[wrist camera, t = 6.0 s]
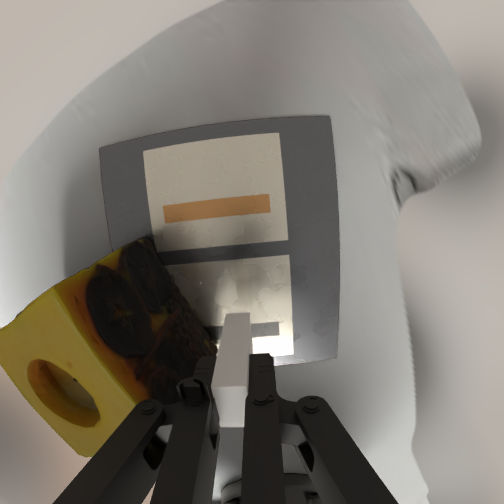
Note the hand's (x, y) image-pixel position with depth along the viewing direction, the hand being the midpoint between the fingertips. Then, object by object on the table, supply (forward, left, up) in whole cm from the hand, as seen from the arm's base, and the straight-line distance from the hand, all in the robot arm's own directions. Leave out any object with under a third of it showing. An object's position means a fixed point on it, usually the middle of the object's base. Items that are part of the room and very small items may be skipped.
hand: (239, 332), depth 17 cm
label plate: (+4, +1, -3) cm, 5 cm away
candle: (0, +8, -3) cm, 9 cm away
